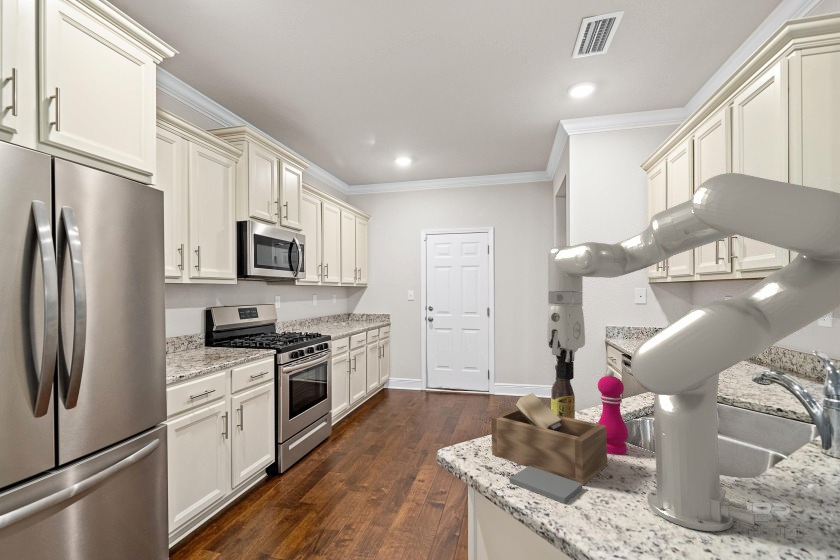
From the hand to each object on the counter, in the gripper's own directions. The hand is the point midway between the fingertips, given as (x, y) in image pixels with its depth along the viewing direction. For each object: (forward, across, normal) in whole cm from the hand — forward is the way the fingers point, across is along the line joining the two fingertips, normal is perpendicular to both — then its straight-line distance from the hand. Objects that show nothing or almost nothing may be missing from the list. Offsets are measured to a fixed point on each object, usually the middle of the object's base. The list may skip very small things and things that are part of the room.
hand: (565, 378), depth 90 cm
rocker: (+14, 0, +5) cm, 15 cm away
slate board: (+20, -12, -2) cm, 23 cm away
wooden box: (+20, 0, +4) cm, 21 cm away
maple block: (+10, 0, +8) cm, 13 cm away
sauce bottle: (+20, +17, +9) cm, 28 cm away
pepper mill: (+20, +17, -4) cm, 27 cm away
